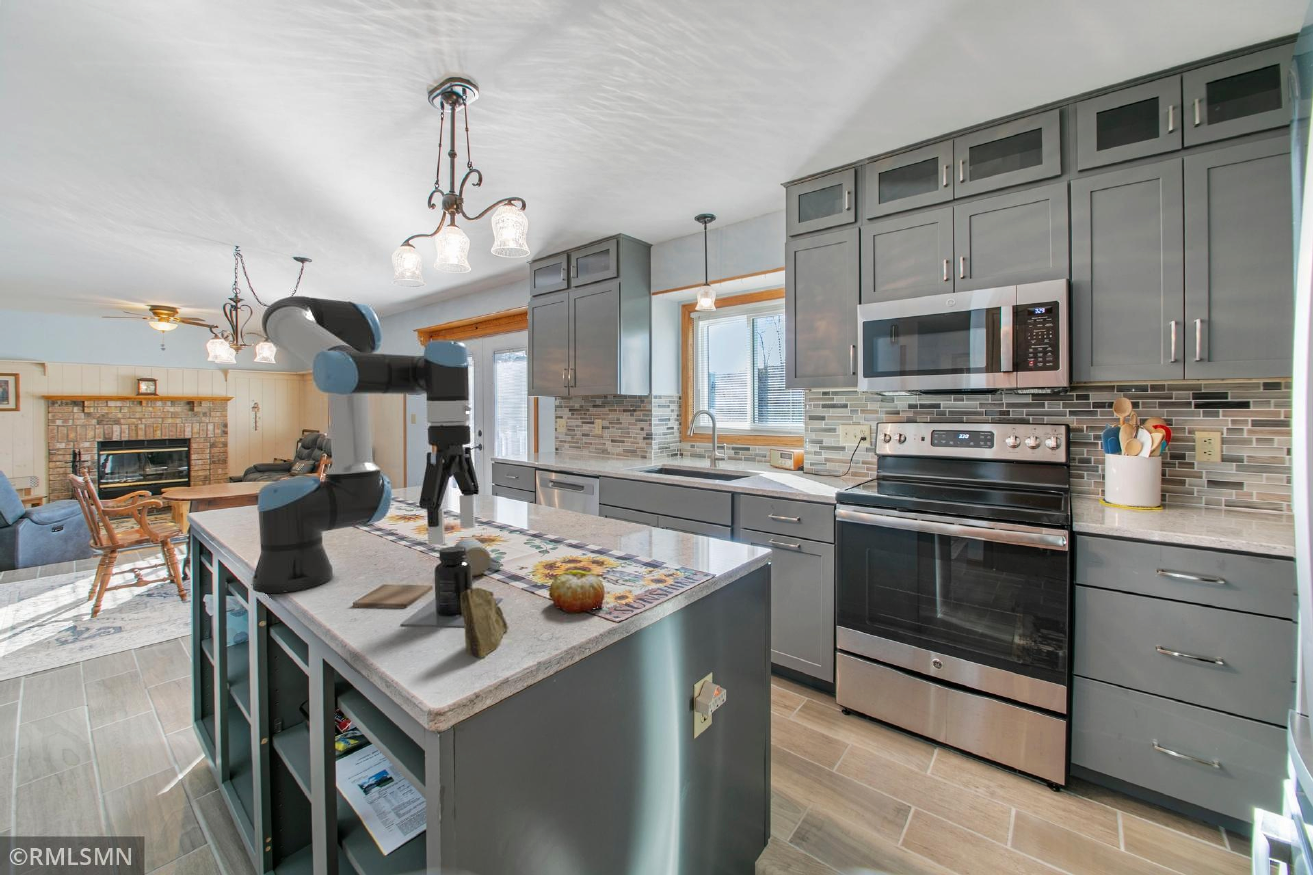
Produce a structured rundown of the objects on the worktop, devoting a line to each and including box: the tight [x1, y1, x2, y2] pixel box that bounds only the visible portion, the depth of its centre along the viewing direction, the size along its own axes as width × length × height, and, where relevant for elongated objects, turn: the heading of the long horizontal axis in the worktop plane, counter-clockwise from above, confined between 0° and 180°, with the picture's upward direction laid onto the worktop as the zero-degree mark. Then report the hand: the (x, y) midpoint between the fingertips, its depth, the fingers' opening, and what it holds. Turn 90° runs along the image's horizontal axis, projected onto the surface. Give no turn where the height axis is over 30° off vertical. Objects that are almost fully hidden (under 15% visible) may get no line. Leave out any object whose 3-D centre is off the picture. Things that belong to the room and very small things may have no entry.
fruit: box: [548, 569, 606, 614], centre depth 111 cm, size 11×10×8 cm
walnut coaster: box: [352, 584, 433, 609], centre depth 115 cm, size 11×11×1 cm
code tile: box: [400, 597, 504, 628], centre depth 107 cm, size 14×14×1 cm
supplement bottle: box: [433, 545, 473, 616], centre depth 107 cm, size 7×7×12 cm
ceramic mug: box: [454, 537, 502, 577], centre depth 132 cm, size 11×8×8 cm
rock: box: [461, 587, 509, 659], centre depth 94 cm, size 11×9×10 cm
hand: (453, 535), depth 106 cm, fingers open, 13 cm apart
